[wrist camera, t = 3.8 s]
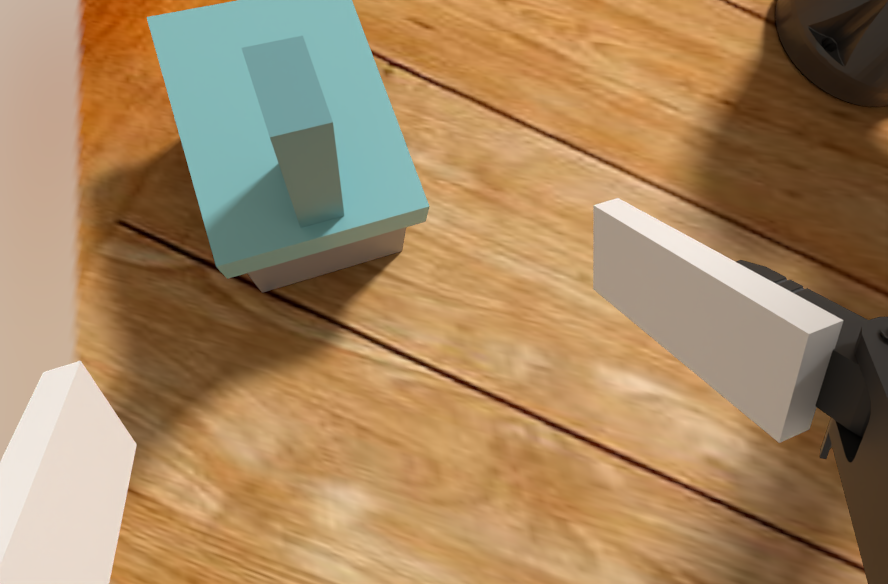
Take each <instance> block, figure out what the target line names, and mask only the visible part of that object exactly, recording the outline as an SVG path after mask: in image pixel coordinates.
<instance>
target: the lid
mask: <svg viewBox="0 0 888 584" xmlns="http://www.w3.org/2000/svg"><path fill="white" fill-rule="evenodd" d="M147 20H148V24H149V27H150V31H151V35H152V38H153V42H154V45H155V49H156V53H157V56H158V60H159V63H160V67H161V71H162V74H163V78H164V81H165V85H166V89H167V92H168V96H169V99H170V103H171V107H172V110H173V114H174V117H175V121H176V124H177V128H178V132H179V135H180V139H181V142H182V146H183V150H184V153H185V157H186V160H187V164H188V168H189V171H190V175H191V178H192V182H193V186H194V189H195V193H196V196H197V200H198V204H199V207H200V211H201V214H202V218H203V221H204V225H205V229H206V232H207V236H208V239H209V243H210V247H211V250H212V254H213V257H214V261H215V265H216V267H217V268H218V269H219V270H220V272H221V273H222V274H223V275H224V276H225V277H226V278H227V279H228V278H232V277H235V276H239V275H242V274H246V273H249V272H253V271H256V270H260V269H263V268H266V267H270V266H273V265H277V264H280V263H284V262H287V261H291V260H294V259H298V258H301V257H305V256H308V255H311V254H315V253H318V252H322V251H325V250H329V249H332V248H336V247H339V246H343V245H346V244H350V243H353V242H356V241H360V240H363V239H367V238H370V237H374V236H377V235H381V234H384V233H388V232H391V231H395V230H398V229H401V228H405V227H408V226H412V225H415V224H419V223H422V222H425V221H426V217H427V214H428V210H429V204H428V202H427V199H426V196H425V194H424V191H423V188H422V186H421V183H420V180H419V178H418V175H417V172H416V170H415V167H414V164H413V162H412V159H411V156H410V154H409V151H408V148H407V146H406V143H405V140H404V138H403V135H402V132H401V130H400V127H399V124H398V122H397V119H396V116H395V114H394V111H393V108H392V106H391V103H390V100H389V98H388V95H387V92H386V90H385V87H384V85H383V82H382V79H381V77H380V74H379V71H378V69H377V66H376V63H375V61H374V58H373V55H372V53H371V50H370V47H369V45H368V42H367V39H366V37H365V34H364V31H363V29H362V26H361V23H360V21H359V18H358V15H357V13H356V10H355V7H354V5H353V2H352V0H238V1H232V2H227V3H221V4H216V5H211V6H205V7H200V8H194V9H189V10H183V11H178V12H173V13H167V14H162V15H156V16H151V17H147Z"/></svg>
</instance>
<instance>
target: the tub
mask: <svg viewBox="0 0 888 584" xmlns="http://www.w3.org/2000/svg"><path fill="white" fill-rule="evenodd" d="M405 231H406V227H405V228H401V229H398V230H395V231H391V232H388V233H384V234H381V235H377V236H374V237H370V238H367V239H363V240H360V241H356V242H353V243H350V244H346V245H343V246H339V247H336V248H332V249H329V250H325V251H322V252H318V253H315V254H311V255H308V256H305V257H301V258H298V259H294V260H291V261H287V262H284V263H280V264H277V265H273V266H270V267H266V268H263V269H260V270H256V271H253V272H249V273H247V274H248V275H249V276H250V278H251V279H252V280H253V282H254V283H255V284H256V285H257V287H258V288H259V289H260V291H261V292H262V293H263V292H266V291H270V290H273V289H277V288H280V287H283V286H287V285H290V284H293V283H297V282H300V281H303V280H307V279H310V278H313V277H317V276H320V275H324V274H327V273H330V272H334V271H337V270H340V269H344V268H347V267H350V266H354V265H357V264H360V263H364V262H367V261H370V260H374V259H377V258H381V257H384V256H387V255H391V254H394V253H397V252H401V251H402V249H403V243H404V237H405Z"/></svg>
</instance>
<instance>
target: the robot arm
mask: <svg viewBox="0 0 888 584" xmlns="http://www.w3.org/2000/svg"><path fill="white" fill-rule="evenodd" d="M775 16H776V26H777V30H778V34H779V37H780V40H781V42H782V44H783V47H784V49H785V50H786V52H787V54H788V56H789V57H790V59H791V60H792V61H793V63H794V64H795V65H796V67H797V68H798V69H799V70H800V71H801V72H802V73H803V74H804V75H805V76H806V77H807V78H808V79H809V80H810V81H811V82H813V83H814V84H815V85H817V86H818V87H819V88H821V89H822V90H824V91H825V92H827V93H829V94H831V95H832V96H835V97H837V98H839V99H841V100H844V101H846V102H849V103H853V104H857V105H862V106H870V107H881V106H888V0H777V4H776V13H775ZM593 289H594V290H595V291H596V292H597V293H599V294H600V295H601V296H602V297H603V298H605V299H606V300H607V301H608V302H610V303H611V304H612V305H613V306H614V307H616V308H617V309H618V310H619V311H620V312H622V313H623V314H624V315H625V316H626V317H628V318H629V319H630V320H631V321H632V322H634V323H635V324H636V325H637V326H639V327H640V328H641V329H642V330H643V331H645V332H646V333H647V334H648V335H649V336H651V337H652V338H653V339H654V340H655V341H657V342H658V343H659V344H660V345H661V346H663V347H664V348H665V349H666V350H668V351H669V352H670V353H671V354H672V355H674V356H675V357H676V358H677V359H678V360H680V361H681V362H682V363H683V364H684V365H686V366H687V367H688V368H689V369H690V370H692V371H693V372H694V373H695V374H697V375H698V376H699V377H700V378H701V379H703V380H704V381H705V382H706V383H707V384H709V385H710V386H711V387H712V388H713V389H715V390H716V391H717V392H718V393H720V394H721V395H722V396H723V397H724V398H726V399H727V400H728V401H729V402H730V403H732V404H733V405H734V406H735V407H736V408H738V409H739V410H740V411H741V412H742V413H744V414H745V415H746V416H747V417H749V418H750V419H751V420H752V421H753V422H755V423H756V424H757V425H758V426H759V427H761V428H762V429H763V430H764V431H765V432H767V433H768V434H769V435H770V436H771V437H773V438H774V439H775V440H776V441H778V442H779V443H780V442H782V441H785V440H787V439H789V438H791V437H794V436H796V435H798V434H800V433H803V432H805V431H807V430H809V429H810V426H811V423H812V420H813V417H814V413H815V410H816V407H817V408H819V409H820V410H822V411H823V412H824V413H826V414H827V415H829V416H830V417H831V419H830V422H829V425H828V428H827V431H826V434H825V437H824V440H823V443H822V446H821V449H820V458H823V459H826V458H827V455H828V452H829V450H830V448H833V451H834V455H835V459H836V463H837V467H838V470H839V474H840V478H841V482H842V486H843V490H844V493H845V497H846V501H847V505H848V509H849V513H850V516H851V520H852V524H853V528H854V532H855V536H856V539H857V543H858V547H859V551H860V555H861V558H862V562H863V566H864V570H865V574H866V578H867V581H868V584H888V317H878V318H874V319H871V320H867V319H865V318H863V317H861V316H859V315H857V314H855V313H853V312H852V311H850V310H848V309H846V308H844V307H842V306H840V305H838V304H836V303H834V302H832V301H830V300H828V299H827V298H825V297H823V296H821V295H819V294H817V293H815V292H813V291H811V290H809V289H804V288H803V286H802V285H800V284H798V283H796V282H794V281H792V280H787V279H786V277H784V276H782V275H780V274H779V273H777V272H775V271H773V270H771V269H769V268H767V267H765V266H761V265H757V264H754V263H750V262H746V261H743V260H739V261H736V262H735V261H733V260H731V259H729V258H728V257H726V256H724V255H722V254H720V253H718V252H717V251H715V250H713V249H711V248H709V247H707V246H705V245H704V244H702V243H700V242H698V241H696V240H694V239H693V238H691V237H689V236H687V235H685V234H683V233H681V232H680V231H678V230H676V229H674V228H672V227H670V226H669V225H667V224H665V223H663V222H661V221H659V220H657V219H656V218H654V217H652V216H650V215H648V214H646V213H645V212H643V211H641V210H639V209H637V208H635V207H633V206H632V205H630V204H628V203H626V202H624V201H622V200H621V199H619V198H616V199H613V200H610V201H606V202H603V203H600V204H596V205H594V277H593ZM136 445H137V444H136V443H135V441H134V440H133V438H132V437H131V435H130V434H129V432H128V431H127V429H126V428H125V426H124V425H123V423H122V422H121V420H120V419H119V417H118V416H117V414H116V413H115V411H114V410H113V408H112V407H111V405H110V404H109V402H108V401H107V399H106V398H105V396H104V395H103V393H102V392H101V391H100V389H99V388H98V386H97V385H96V383H95V382H94V380H93V379H92V377H91V376H90V374H89V373H88V371H87V370H86V368H85V367H84V365H83V364H82V362H81V361H78V362H75V363H72V364H68V365H65V366H62V367H59V368H55V369H52V370H48V371H45V372H43V374H42V376H41V378H40V380H39V382H38V384H37V386H36V389H35V391H34V393H33V395H32V397H31V399H30V401H29V403H28V405H27V407H26V410H25V412H24V414H23V416H22V418H21V420H20V422H19V424H18V426H17V428H16V431H15V432H14V434H13V437H12V439H11V441H10V443H9V445H8V447H7V449H6V451H5V453H4V455H3V458H2V460H1V462H0V584H109V581H110V576H111V571H112V566H113V561H114V556H115V551H116V546H117V541H118V536H119V531H120V526H121V521H122V516H123V511H124V506H125V501H126V496H127V491H128V486H129V481H130V476H131V471H132V466H133V461H134V455H135V450H136Z"/></svg>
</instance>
